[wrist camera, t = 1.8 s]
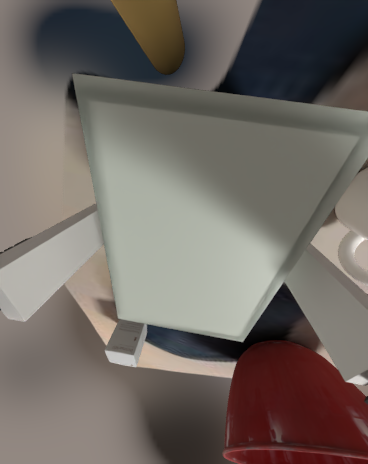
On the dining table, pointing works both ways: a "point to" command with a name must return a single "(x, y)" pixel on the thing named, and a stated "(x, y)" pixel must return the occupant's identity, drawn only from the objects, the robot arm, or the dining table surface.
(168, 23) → the pin
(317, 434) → the mixing bowl
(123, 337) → the skincare box
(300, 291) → the robot arm
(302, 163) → the tray
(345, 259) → the mug
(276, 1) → the dining table surface
